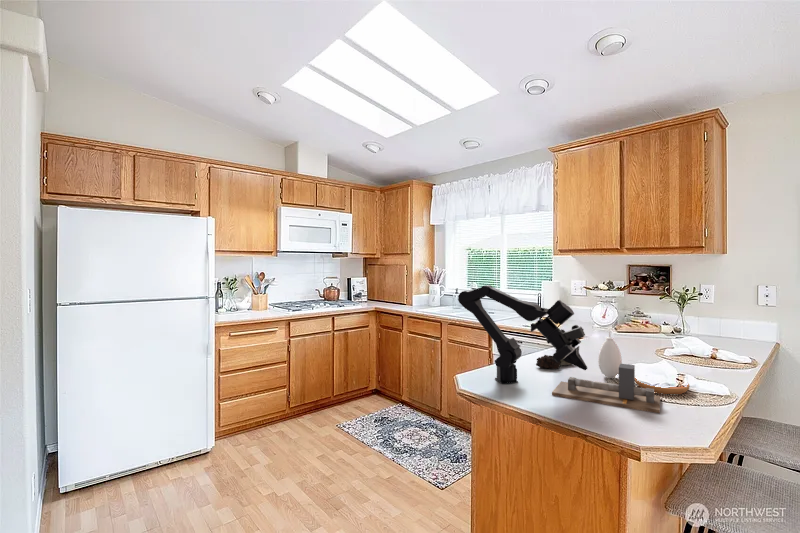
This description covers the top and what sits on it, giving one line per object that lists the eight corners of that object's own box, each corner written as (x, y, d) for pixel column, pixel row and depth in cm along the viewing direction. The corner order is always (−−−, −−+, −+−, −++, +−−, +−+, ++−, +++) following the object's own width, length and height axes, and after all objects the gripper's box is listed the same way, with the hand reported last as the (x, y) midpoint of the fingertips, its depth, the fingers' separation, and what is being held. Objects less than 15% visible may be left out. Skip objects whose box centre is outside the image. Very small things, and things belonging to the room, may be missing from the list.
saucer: (670, 400, 126) (670, 390, 126) (624, 386, 141) (624, 377, 141) (700, 392, 133) (700, 384, 132) (653, 380, 147) (653, 372, 147)
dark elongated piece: (566, 363, 173) (566, 350, 173) (578, 367, 167) (578, 354, 166) (534, 367, 166) (534, 354, 166) (545, 371, 160) (545, 357, 160)
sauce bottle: (624, 377, 150) (623, 330, 150) (618, 382, 144) (618, 333, 144) (602, 373, 155) (601, 328, 155) (595, 378, 150) (595, 330, 150)
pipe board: (551, 395, 131) (551, 380, 131) (561, 384, 143) (561, 370, 143) (659, 413, 115) (659, 397, 114) (660, 399, 126) (660, 384, 126)
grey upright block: (618, 397, 124) (618, 367, 124) (620, 392, 129) (620, 363, 129) (633, 400, 122) (633, 369, 122) (634, 394, 126) (634, 365, 126)
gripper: (563, 321, 127) (601, 360, 121) (574, 314, 142) (609, 349, 136) (538, 343, 131) (574, 381, 125) (551, 334, 147) (584, 368, 141)
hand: (586, 369), depth 132 cm, fingers closed
